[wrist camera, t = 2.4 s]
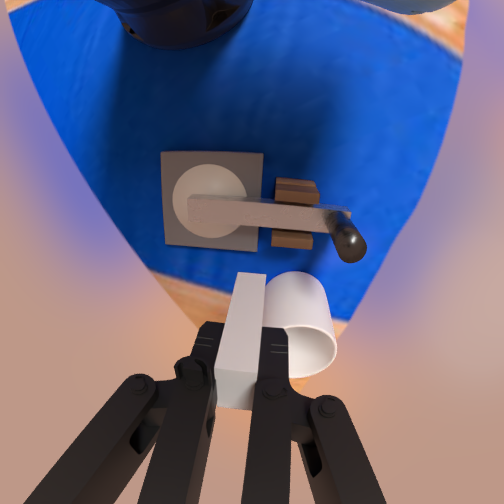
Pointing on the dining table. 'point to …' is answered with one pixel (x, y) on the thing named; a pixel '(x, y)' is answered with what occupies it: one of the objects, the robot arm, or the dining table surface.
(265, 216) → the crank handle
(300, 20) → the dining table surface
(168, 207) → the dock pad
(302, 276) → the mug
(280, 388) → the robot arm
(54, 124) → the dining table surface
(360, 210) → the dining table surface
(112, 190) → the dining table surface
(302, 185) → the mount
